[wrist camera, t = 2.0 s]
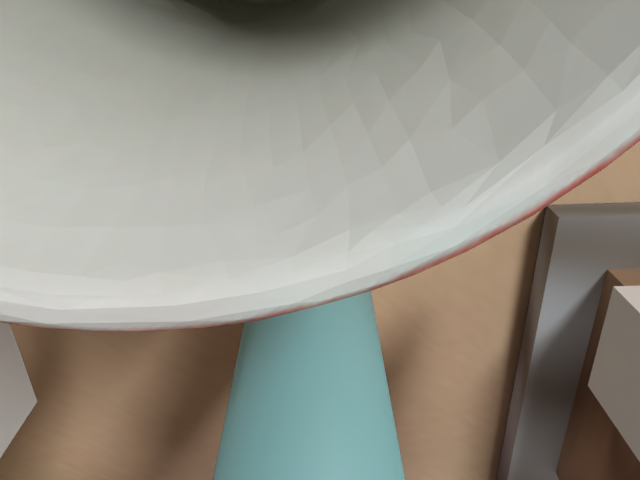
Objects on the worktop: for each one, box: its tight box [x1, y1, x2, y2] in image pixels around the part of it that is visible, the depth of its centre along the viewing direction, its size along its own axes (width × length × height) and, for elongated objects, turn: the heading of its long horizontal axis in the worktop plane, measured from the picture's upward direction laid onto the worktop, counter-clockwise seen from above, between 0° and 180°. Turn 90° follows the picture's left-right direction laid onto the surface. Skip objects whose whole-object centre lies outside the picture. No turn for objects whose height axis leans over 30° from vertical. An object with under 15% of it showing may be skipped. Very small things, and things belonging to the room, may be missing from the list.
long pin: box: [213, 291, 405, 480], centre depth 12 cm, size 3×3×14 cm
